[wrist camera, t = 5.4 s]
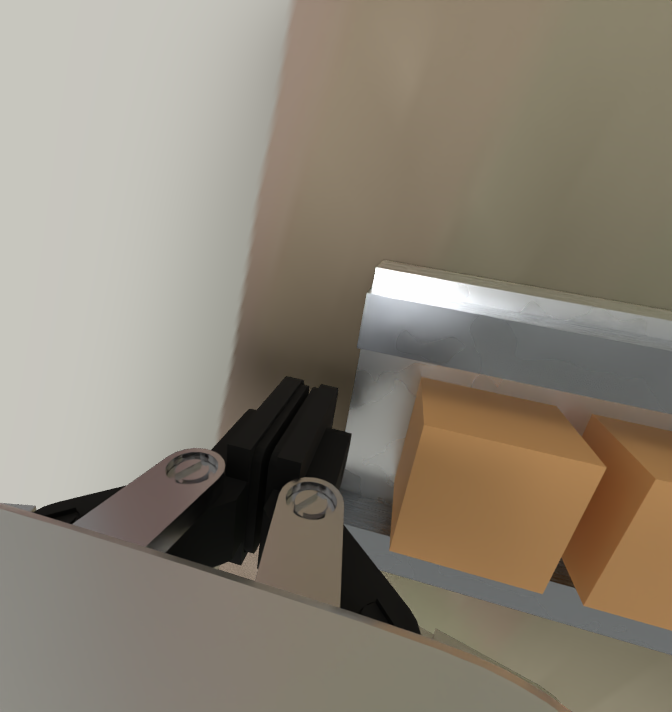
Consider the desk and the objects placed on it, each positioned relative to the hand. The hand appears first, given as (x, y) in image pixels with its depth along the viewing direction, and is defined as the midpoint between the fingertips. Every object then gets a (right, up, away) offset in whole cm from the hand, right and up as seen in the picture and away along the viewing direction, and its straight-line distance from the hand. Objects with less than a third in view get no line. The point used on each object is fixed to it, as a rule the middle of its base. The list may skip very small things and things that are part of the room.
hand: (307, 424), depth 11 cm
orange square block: (+10, -2, 0) cm, 10 cm away
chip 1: (+5, -1, 0) cm, 5 cm away
